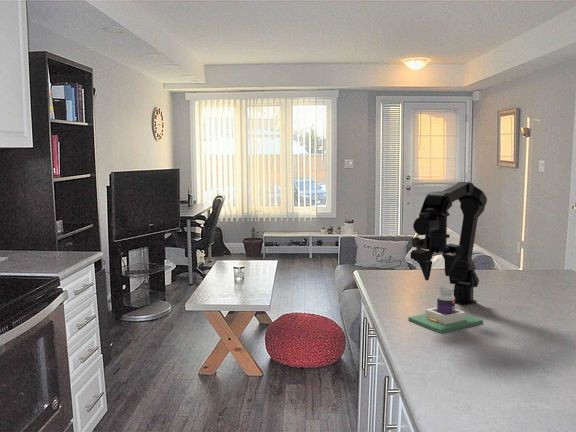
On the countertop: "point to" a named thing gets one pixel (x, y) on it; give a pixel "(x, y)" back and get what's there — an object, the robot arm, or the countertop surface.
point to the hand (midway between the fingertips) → (436, 278)
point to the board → (444, 320)
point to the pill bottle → (446, 301)
